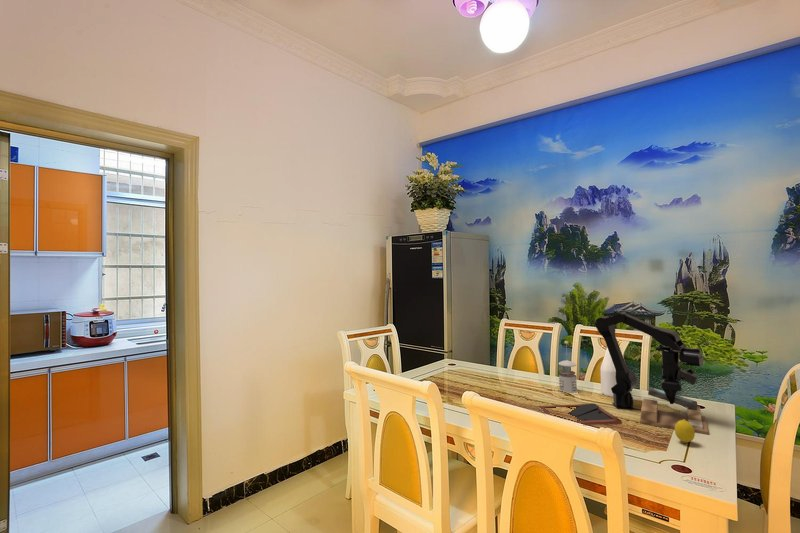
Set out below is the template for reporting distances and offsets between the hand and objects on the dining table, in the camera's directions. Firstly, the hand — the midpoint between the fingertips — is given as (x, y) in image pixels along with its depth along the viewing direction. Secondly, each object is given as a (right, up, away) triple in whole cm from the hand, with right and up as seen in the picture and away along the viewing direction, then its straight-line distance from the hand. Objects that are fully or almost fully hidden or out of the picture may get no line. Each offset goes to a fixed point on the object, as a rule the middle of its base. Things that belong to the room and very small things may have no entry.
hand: (671, 402), depth 158 cm
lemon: (-11, -7, -22) cm, 26 cm away
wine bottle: (-7, -7, +31) cm, 32 cm away
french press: (-25, -8, +37) cm, 46 cm away
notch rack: (-2, -6, -3) cm, 7 cm away
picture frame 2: (0, +1, 0) cm, 1 cm away
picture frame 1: (-35, -8, +5) cm, 36 cm away
